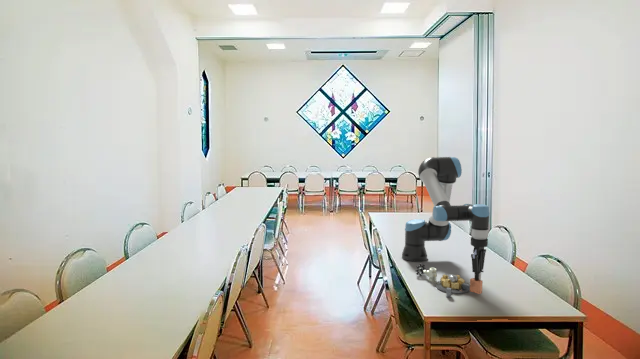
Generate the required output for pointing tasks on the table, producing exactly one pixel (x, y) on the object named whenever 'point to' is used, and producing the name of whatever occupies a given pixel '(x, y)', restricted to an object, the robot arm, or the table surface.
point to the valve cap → (454, 291)
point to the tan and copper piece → (462, 284)
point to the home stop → (448, 292)
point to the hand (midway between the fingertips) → (477, 285)
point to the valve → (427, 272)
